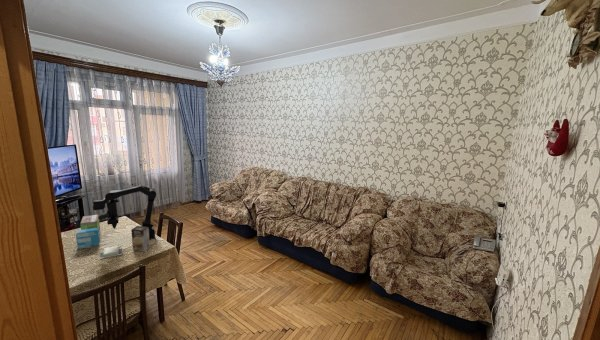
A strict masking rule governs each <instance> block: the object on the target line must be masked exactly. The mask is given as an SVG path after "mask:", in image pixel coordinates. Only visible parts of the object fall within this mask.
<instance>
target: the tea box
mask: <svg viewBox="0 0 600 340" xmlns="http://www.w3.org/2000/svg"><path fill="white" fill-rule="evenodd" d="M98 215H99V214H93V215H84V216H82V218H81V221H80V223H79V225H80V230H86V229H92V228H97V229H98V232H99V235H101V225H100V220H99V218H98Z"/></svg>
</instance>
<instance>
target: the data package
mask: <svg viewBox="0 0 600 340" xmlns="http://www.w3.org/2000/svg"><path fill="white" fill-rule="evenodd" d="M75 239H76V247H77V249H85V248H90V247H96V246H99V244H100V234H99V232H98V229H97V228H92V229H86V230H81V229H80V230H78V231H76V234H75Z"/></svg>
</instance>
